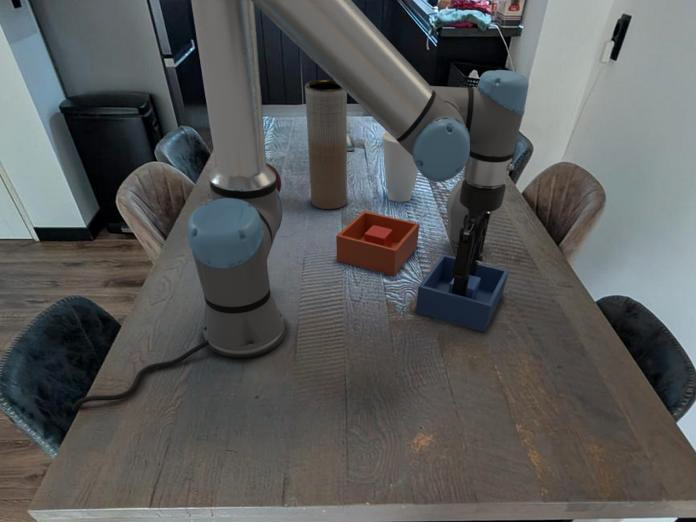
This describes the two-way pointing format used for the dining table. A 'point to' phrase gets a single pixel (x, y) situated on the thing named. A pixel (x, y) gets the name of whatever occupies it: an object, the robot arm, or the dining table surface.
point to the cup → (398, 169)
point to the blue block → (469, 287)
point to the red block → (379, 236)
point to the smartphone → (349, 144)
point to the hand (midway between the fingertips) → (461, 296)
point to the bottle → (455, 213)
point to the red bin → (375, 255)
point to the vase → (327, 143)
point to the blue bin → (459, 308)
